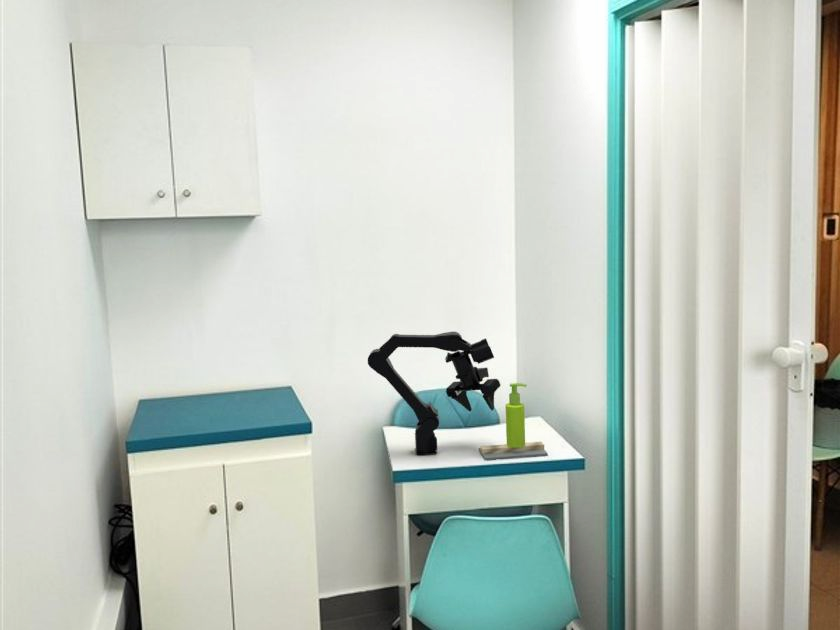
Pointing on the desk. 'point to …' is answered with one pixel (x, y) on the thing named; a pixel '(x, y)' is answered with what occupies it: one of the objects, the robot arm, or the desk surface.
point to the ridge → (511, 448)
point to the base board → (514, 455)
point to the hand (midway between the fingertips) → (481, 410)
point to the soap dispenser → (515, 419)
